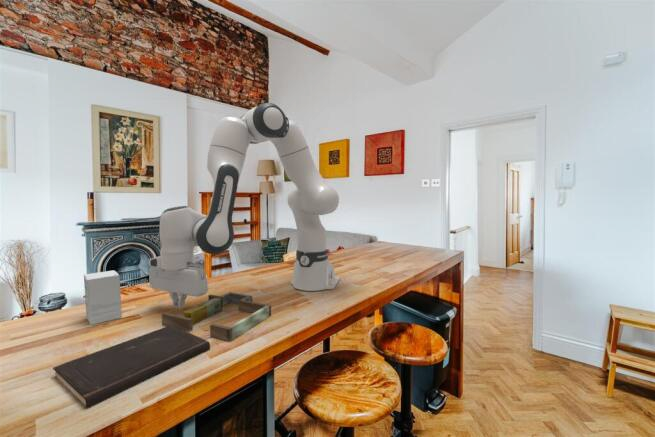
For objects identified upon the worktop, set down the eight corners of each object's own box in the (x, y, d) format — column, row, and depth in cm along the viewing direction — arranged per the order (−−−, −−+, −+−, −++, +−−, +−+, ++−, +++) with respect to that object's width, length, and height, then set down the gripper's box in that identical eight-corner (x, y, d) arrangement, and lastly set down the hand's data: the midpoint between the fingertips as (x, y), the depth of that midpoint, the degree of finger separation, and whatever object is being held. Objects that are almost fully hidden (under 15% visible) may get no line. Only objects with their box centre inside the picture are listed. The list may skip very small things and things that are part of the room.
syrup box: (196, 294, 105) (195, 253, 104) (181, 293, 106) (180, 253, 105) (205, 289, 111) (204, 251, 110) (191, 288, 112) (190, 250, 111)
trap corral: (220, 299, 100) (220, 290, 100) (279, 309, 91) (279, 300, 91) (162, 324, 80) (161, 313, 80) (229, 341, 71) (229, 329, 71)
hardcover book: (53, 378, 57) (52, 367, 57) (171, 333, 76) (171, 324, 76) (86, 412, 48) (85, 398, 48) (210, 351, 68) (210, 341, 67)
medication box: (215, 309, 92) (215, 297, 91) (222, 311, 91) (222, 298, 90) (183, 325, 81) (183, 311, 80) (191, 326, 79) (190, 312, 79)
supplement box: (116, 310, 90) (115, 269, 89) (122, 318, 84) (120, 274, 83) (85, 317, 84) (83, 273, 83) (88, 325, 79) (86, 279, 78)
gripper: (212, 262, 87) (213, 308, 88) (163, 256, 95) (164, 298, 96) (195, 266, 81) (196, 315, 82) (144, 259, 89) (146, 304, 90)
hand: (178, 306), depth 89 cm, fingers closed
